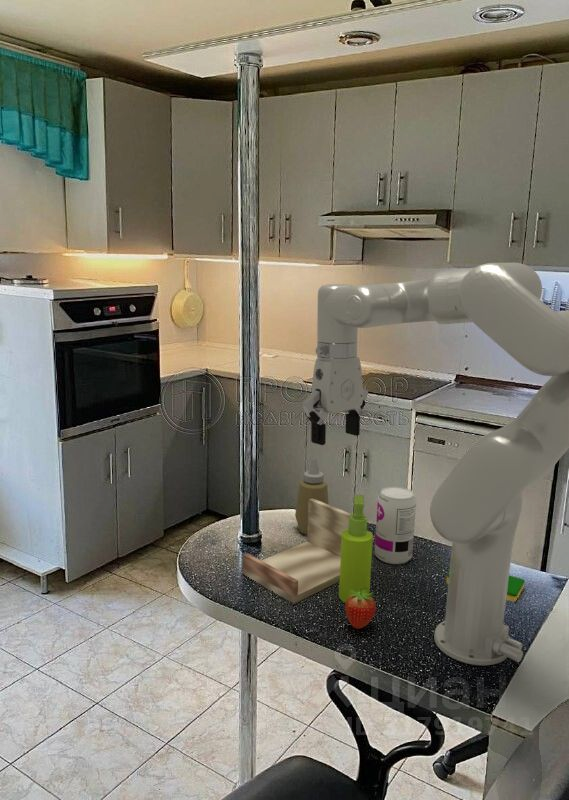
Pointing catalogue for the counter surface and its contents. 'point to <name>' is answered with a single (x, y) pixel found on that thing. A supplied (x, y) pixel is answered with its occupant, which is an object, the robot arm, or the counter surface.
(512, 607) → the counter surface
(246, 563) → the wooden holder
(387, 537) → the supplement can
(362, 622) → the fruit
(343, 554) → the soap dispenser
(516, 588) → the dish sponge
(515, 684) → the counter surface
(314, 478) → the squeeze bottle
